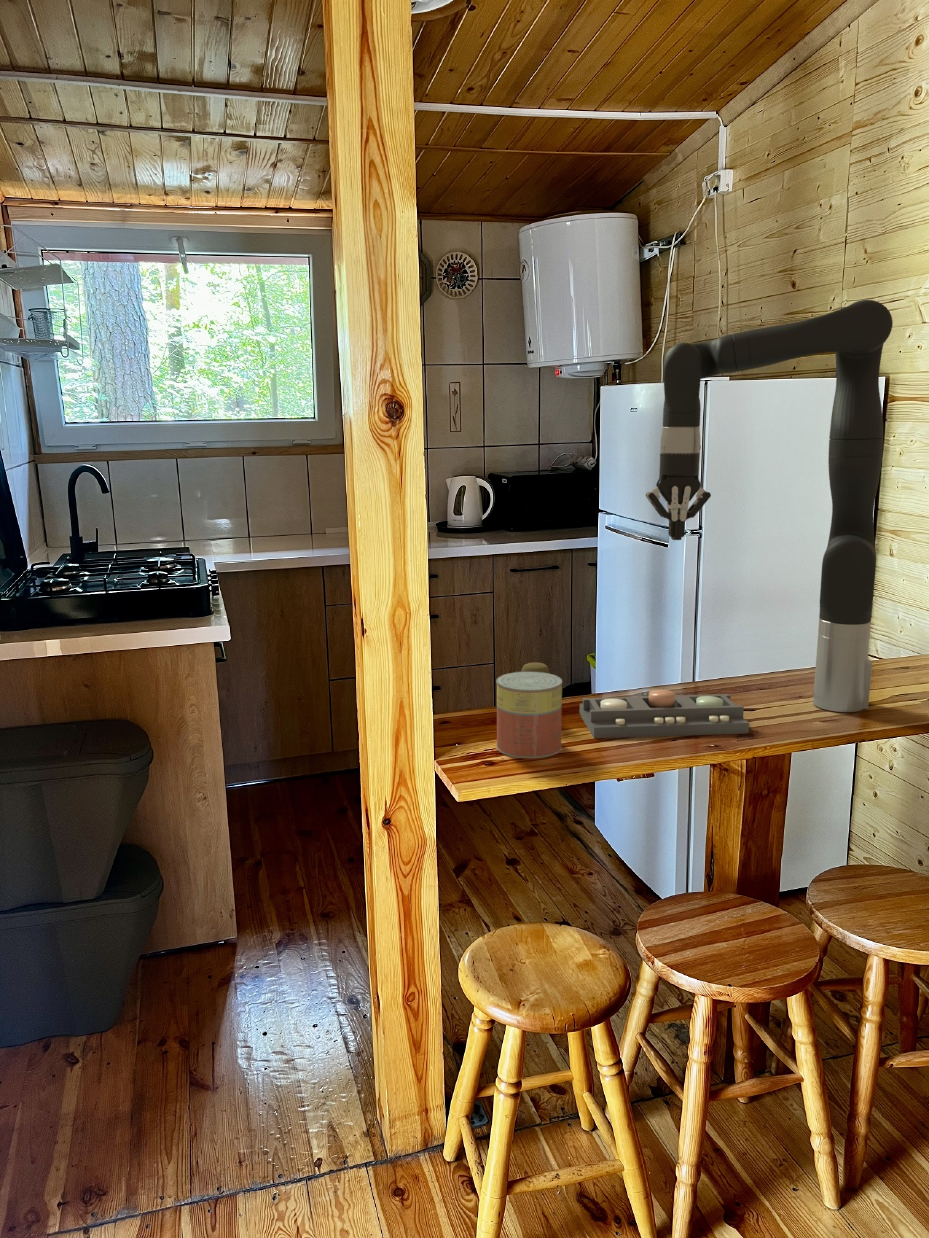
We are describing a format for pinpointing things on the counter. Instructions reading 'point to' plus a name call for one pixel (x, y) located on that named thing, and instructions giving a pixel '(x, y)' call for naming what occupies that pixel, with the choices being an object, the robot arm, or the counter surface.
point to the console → (663, 718)
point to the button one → (613, 704)
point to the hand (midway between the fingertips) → (676, 539)
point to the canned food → (529, 714)
